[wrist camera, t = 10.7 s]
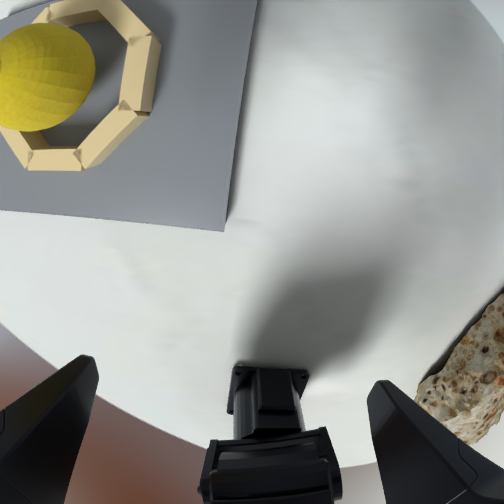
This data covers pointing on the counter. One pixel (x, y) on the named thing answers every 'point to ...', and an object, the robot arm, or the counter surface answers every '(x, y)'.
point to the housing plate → (168, 140)
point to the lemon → (43, 76)
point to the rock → (470, 380)
